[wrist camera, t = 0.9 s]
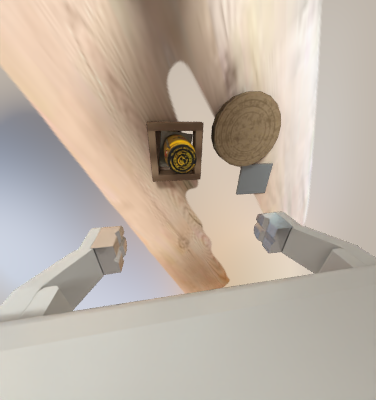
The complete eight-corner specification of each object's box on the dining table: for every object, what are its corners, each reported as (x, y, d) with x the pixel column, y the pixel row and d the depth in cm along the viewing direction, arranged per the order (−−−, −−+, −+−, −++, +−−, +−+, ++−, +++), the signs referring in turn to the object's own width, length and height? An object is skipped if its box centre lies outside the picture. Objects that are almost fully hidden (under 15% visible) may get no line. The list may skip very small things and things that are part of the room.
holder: (147, 121, 34) (146, 122, 31) (199, 121, 35) (203, 122, 32) (153, 176, 40) (152, 181, 37) (197, 174, 41) (200, 179, 38)
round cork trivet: (265, 76, 33) (274, 74, 31) (277, 144, 41) (285, 146, 39) (200, 116, 35) (203, 116, 32) (224, 173, 43) (228, 177, 40)
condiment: (192, 134, 36) (205, 143, 26) (187, 168, 40) (196, 188, 30) (161, 129, 35) (161, 137, 25) (158, 166, 39) (158, 185, 29)
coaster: (241, 164, 42) (242, 164, 42) (271, 163, 43) (272, 163, 43) (236, 193, 46) (236, 194, 46) (263, 191, 48) (264, 192, 47)
